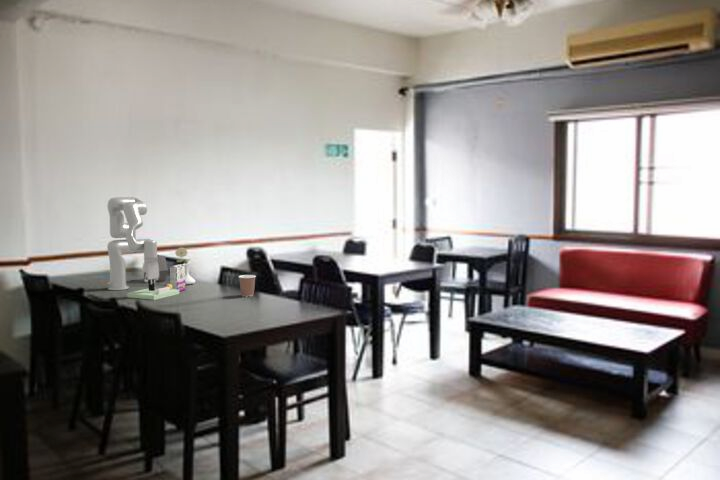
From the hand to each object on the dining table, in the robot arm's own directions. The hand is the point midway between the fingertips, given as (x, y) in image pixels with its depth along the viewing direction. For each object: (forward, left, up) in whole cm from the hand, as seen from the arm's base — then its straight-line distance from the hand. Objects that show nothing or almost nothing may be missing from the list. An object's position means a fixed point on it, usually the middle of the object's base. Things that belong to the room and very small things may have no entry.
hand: (151, 290), depth 373 cm
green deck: (-1, +2, -3) cm, 4 cm away
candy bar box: (+3, +20, -4) cm, 21 cm away
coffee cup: (+52, +25, -4) cm, 58 cm away
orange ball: (+6, +9, -1) cm, 10 cm away
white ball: (+5, 0, -3) cm, 6 cm away
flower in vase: (-11, +44, -4) cm, 45 cm away
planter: (-39, +47, -4) cm, 61 cm away
